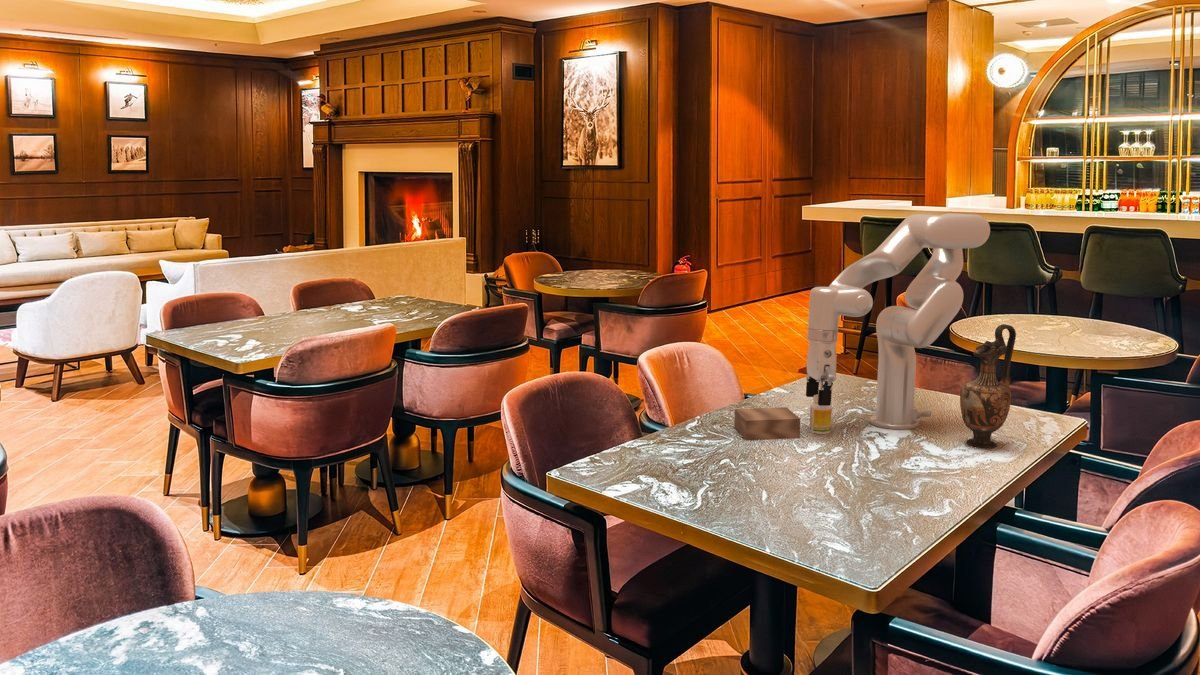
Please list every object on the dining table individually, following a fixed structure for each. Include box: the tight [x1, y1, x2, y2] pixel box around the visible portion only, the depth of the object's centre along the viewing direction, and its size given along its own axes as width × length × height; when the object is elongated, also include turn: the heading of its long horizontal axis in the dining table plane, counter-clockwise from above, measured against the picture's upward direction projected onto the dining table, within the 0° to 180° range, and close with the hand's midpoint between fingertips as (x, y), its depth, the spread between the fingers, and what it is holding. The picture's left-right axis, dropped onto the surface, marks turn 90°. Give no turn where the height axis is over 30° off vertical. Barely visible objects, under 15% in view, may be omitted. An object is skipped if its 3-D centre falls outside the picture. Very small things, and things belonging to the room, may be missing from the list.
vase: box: [959, 323, 1017, 450], centre depth 232 cm, size 12×12×30 cm
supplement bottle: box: [809, 393, 833, 435], centre depth 246 cm, size 5×5×10 cm
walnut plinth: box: [734, 406, 801, 441], centre depth 246 cm, size 14×12×5 cm
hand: (817, 400), depth 245 cm, fingers open, 9 cm apart
